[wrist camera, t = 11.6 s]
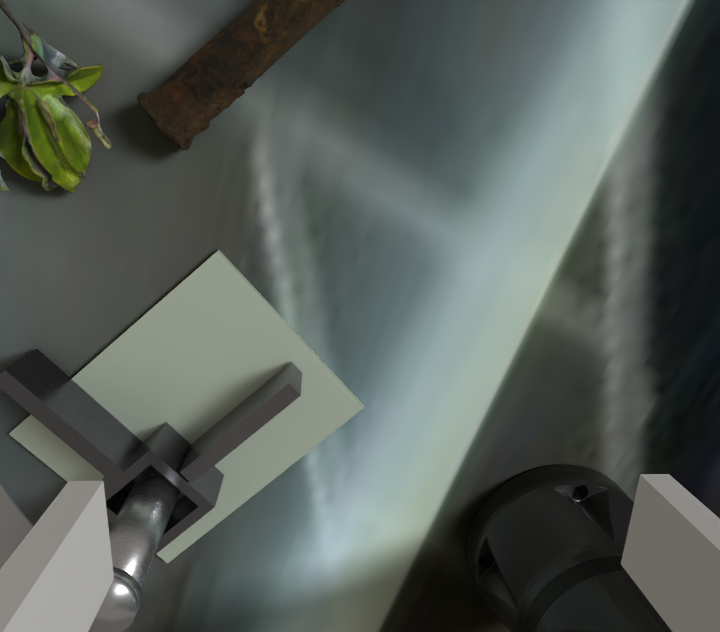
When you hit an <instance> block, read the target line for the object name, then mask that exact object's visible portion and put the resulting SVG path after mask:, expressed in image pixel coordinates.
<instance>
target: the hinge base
mask: <svg viewBox="0 0 720 632" xmlns="http://www.w3.org/2000/svg"><path fill="white" fill-rule="evenodd" d="M0 389H1V390H2V391H4V392H5V393H6V394H7V395H8V396H10V397H11V398H12V399H13V400H14V401H16V402H17V403H18V404H19V405H20V406H22V407H23V408H24V409H25V410H26V411H27V412H29V413H30V414H31V415H32V416H33V417H35V418H36V419H37V420H38V421H39V422H41V423H42V424H43V425H44V426H45V427H47V428H48V429H49V430H50V431H51V432H53V433H54V434H55V435H56V436H57V437H58V438H60V439H61V440H62V441H63V442H64V443H66V444H67V445H68V446H69V447H70V448H72V449H73V450H74V451H75V452H76V453H78V454H79V455H80V456H81V457H82V458H84V459H85V460H86V461H87V462H88V463H89V464H91V465H92V466H93V467H94V468H95V469H97V470H98V471H99V472H100V473H101V474H103V475H104V477H103V479H102V480H101V481H103V482H104V491H105V500H106V509H107V518H108V522H109V523H111V524H113V522H114V520H115V518H116V516H117V515H118V513H119V511H120V509H121V508H122V506H123V504H124V502H125V500H126V499H127V497H128V495H129V493H130V492H131V490H132V488H133V486H134V484H135V483H136V482H135V481H134V480H133V479H134V478H135V477H136V476H137V475H138V474H140V473H141V472H142V471H143V470H145V469H146V468H147V467H148V466H149V465H152V466H153V467H154V468H155V469H156V470H157V471H159V472H160V473H161V474H162V475H163V476H164V477H165V478H167V479H168V480H169V481H170V482H171V483H172V484H173V485H175V486H176V487H177V488H178V489H179V490H180V491H181V492H183V493H184V494H185V495H184V496H182V497H181V498H180V499H179V500H177V501H176V503H175V506H174V508H173V511H172V513H171V516H170V518H169V520H168V523H167V525H166V528H165V530H164V533H163V535H162V537H161V540H160V542H159V545H158V547H157V550H156V552H155V554H154V555H156V554H157V553H158V552H159V551H161V550H162V549H163V548H164V547H166V546H167V545H168V544H169V543H171V542H172V541H173V540H174V539H176V538H177V537H178V536H179V535H181V534H182V533H183V532H184V531H186V530H187V529H188V528H189V527H191V526H192V525H193V524H194V523H196V522H197V521H198V520H199V519H201V518H202V517H203V516H204V515H206V514H207V513H208V512H209V511H211V510H212V509H213V508H214V507H215V505H216V502H217V498H218V495H219V492H220V488H221V485H222V481H223V478H224V474H223V473H222V472H221V471H220V470H218V469H217V468H216V467H215V466H213V467H212V468H211V469H210V470H208V471H207V472H206V473H205V474H203V475H202V476H201V477H200V478H199V479H197V480H196V481H195V482H194V483H191V482H190V481H188V480H187V479H186V478H185V477H184V476H183V475H182V474H181V473H180V470H181V468H182V466H183V464H184V461H185V459H186V457H187V454H188V452H189V450H190V448H191V444H190V443H189V442H188V441H187V440H186V439H185V438H183V437H182V436H181V435H180V434H179V433H178V432H177V431H176V430H175V429H174V428H172V427H171V426H170V425H169V424H168V423H167V422H166V423H165V424H163V425H162V426H161V427H160V428H159V429H157V430H156V431H155V432H154V433H153V434H151V435H150V436H149V437H148V438H147V439H145V440H144V441H143V442H142V441H141V440H140V439H139V438H138V437H136V436H135V435H134V434H133V433H132V432H131V431H130V430H129V429H127V428H126V427H125V426H124V425H123V424H122V423H121V422H119V421H118V420H117V419H116V418H115V417H114V416H113V415H112V414H110V413H109V412H108V411H107V410H106V409H105V408H104V407H103V406H101V405H100V404H99V403H98V402H97V401H96V400H95V399H93V398H92V397H91V396H90V395H89V394H88V393H87V392H86V391H84V390H83V389H82V388H81V387H80V386H79V385H78V384H77V383H75V382H74V381H73V380H72V379H71V378H70V377H69V376H67V375H66V374H65V373H64V372H63V371H62V370H61V369H60V368H58V367H57V366H56V365H55V364H54V363H53V362H52V361H51V360H49V359H48V358H47V357H46V356H45V355H44V354H43V353H41V352H40V351H39V350H38V349H36V350H34V351H33V352H31V353H30V354H28V355H27V356H25V357H24V358H22V359H21V360H19V361H18V362H16V363H15V364H13V365H12V366H10V367H9V368H7V369H6V370H4V371H3V372H2V373H1V374H0Z"/></svg>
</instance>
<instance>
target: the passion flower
mask: <svg viewBox="0 0 720 632" xmlns="http://www.w3.org/2000/svg"><path fill="white" fill-rule="evenodd" d="M0 8H1V9H2V10H3V12H4V13H5V14H6V15H7V16H8V17H9V18H10V20H11V21H13V23H14V24H15V25H16V27H17V28H18V30H19V32H20V35H21V39H22V43H23V48H24V54H23V55H22V56H21V57H20V58H17V59H14V60H12V61H9V62H6V60H5V59H4V58H3V56H1V54H0V98H2V97H3V96H4V95H6V96H7V101H6V104H5V108H6V109H5V110H6V113H5V117H4V118H2V122H0V157H1V158H3V159H5V160H6V163H7V164H9V166H10V167H11V168H12V169H13V170H14V171H15V172H17V173H19V174H20V175H21V176H24V177H25V178H26V179H27V180H28V179H30V180H32V181H38V182H42V186H43V188H44V189H45V190H46V191H51V190H53V189H56V187H58V186H60V187H62V188H63V189H65V190H67V191H68V192H71V193H74V192H75V190H76V188H77V186H78V185H79V183H80V182H81V181H83V179H84V177H85V173H86V170H87V167H88V164H89V161H90V158H91V154H92V144H91V140H90V137H89V135H88V133H87V130H86V127H85V126H84V124H83V123H82V122H81V120H80V119H79V118H78V116H77V115H76V114H75V113H74V112H73V111H72V109H71V108H70V107H69V105H68V104H67V103H66V102H65V101H64V100H63V98H62V96H63V95H67V96H75V95H78V96H79V97H80V98H81V99H82V100H83V101H84V102H85V104H86V105H87V106H88V107H90V108H91V110H93V111H94V112H95V113H96V115H97V120H96V119H92V120H88V121H86V122H85V125H86V126H88V127H89V128H90V130H92V131H93V133H94V134H95V135H96V136H97V137H98V139H99V141H100V142H102V143H103V145H104V146H105V147H106V148H107V149H110V148H111V146H112V143H111V141H110V139H109V138H107V137H106V135H105V134H104V133H103V131H102V129H101V128H100V124H99V114H98V110H97V108H95V107H94V106H93V105H92V104H91V102H90V101H89V100H88V99H87V98H86V97H85V96H84V95H83V94H82V92H85V91H86V90H88V89H89V88H90V87H92V86H93V85H94V84H95V83H96V82H97V81H98V79H99V78H100V76H101V74H102V72H103V69H104V66H103V65H101V64H98V65H96V66H90V67H84V68H81V67H79V66H77V65H76V63H74V62H73V61H72V60H70V59H69V58H68V57H66V56H65V55H63V54H62V53H60V52H59V51H57V50H56V49H54V48H53V47H51V46H50V45H48V44H47V43H46V42H45V41H44V40H43V39H42V38H41V37H40V36H39V35H38V34H37V33H36V32H35V31H33V30H31V29H29V28H28V27H27V26H25V25H24V24H23V23H22V22H21V21H20V19H19V18H18V17H17V16H16V15H15V14H14V12H13V11H12V10H11V9H10V8H9V6H8V5H7V4H5V3H4V2H3V0H0ZM37 57H38V58H39V60H40V61H41V62H42V63H43V64H44V65H45V66H46V68H47V69H48V73H47V74H46V75H45V76H44V77H42V78H41V77H37V76H34V75H33V74H32V72H31V64H32V62H33V60H36V59H37ZM16 64H22V65H23V70H22V71H20V72H19V73H18V72H14V71H13V70H11V69H10V67H9V66H11V65H16ZM62 64H66V65H68V66H70V67H72V68H75V69H73V70H62V69H59V68H60V67H61V65H62ZM31 147H32V148H31ZM49 173H50V174H51V175H52V178H51V176H50V174H49ZM0 190H2V191H9V188H8V187H7V186H6V184H5V182H4V181H3V179H2V177H1V170H0Z"/></svg>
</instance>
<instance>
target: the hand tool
mask: <svg viewBox="0 0 720 632" xmlns="http://www.w3.org/2000/svg"><path fill="white" fill-rule="evenodd" d="M344 1H345V0H257V1H256V2H255V3H253V4H252V5H250V6H249V7H248V8H247V9H246V10H244V11H243V12H242V13H241V14H240V15H239V16H238V17H237V18H236V19H234V20H233V21H232V22H231V23H230V24H229V25H228V26H227V27H225V28H224V29H223V30H222V31H221V32H220V33H218V34H217V35H216V36H215V37H214V38H213V39H212V40H211V41H209V42H208V43H207V44H206V45H205V46H204V47H203V48H202V49H201V50H199V51H198V52H197V53H196V54H195V55H194V56H192V57H191V58H190V59H189V60H188V61H187V62H186V63H185V64H184V65H183V66H182V67H181V68H180V69H179V70H178V71H177V72H176V73H175V74H174V75H172V76H171V77H170V78H169V79H168V80H167V81H165V82H164V83H163V84H162V85H161V86H160V87H159V88H157V89H156V90H155V91H154V92H152V93H150V94H148V93H141V94H139V95H138V101H139V104H140V106H141V107H142V108H143V109H144V111H145V112H146V113H147V115H148V116H149V117H150V119H151V120H152V121H153V123H154V124H155V126H156V127H157V129H158V130H159V132H161V133H162V134H164V135H165V136H166V137H167V138H168V139H169V140H171V142H173V143H175V144H176V145H178V146H179V147H180V148H182V149H183V150H187V149H189V148H190V146H191V143H192V139H193V136H194V135H195V134H197V133H199V132H202V131H204V130H206V129H207V128H208V127H209V122H210V120H211V119H212V118H214V117H216V116H217V115H218V114H220V113H221V112H222V111H223V110H224V109H226V108H228V107H229V106H230V105H231V104H232V103H233V102H234V101H235V99H236V98H238V97H240V96H242V95H243V94H244V93H245V91H244V90H245V89H246V88H248V87H251V86H252V84H253V83H254V82H255V81H256V79H258V78H259V77H260V76H261V75H263V74H264V72H265V71H266V70H267V69H268V68H269V67H270V66H272V65H273V64H274V63H275V62H276V61H277V60H278V59H279V58H280V57H281V56H283V55H284V54H285V53H286V52H287V51H288V50H289V49H290V48H291V47H292V46H293V45H294V44H295V43H296V42H297V41H299V40H300V39H301V38H302V37H304V36H305V35H306V34H307V33H308V32H309V31H310V30H311V29H312V28H313V27H314V26H315V25H316V24H318V23H319V22H320V21H321V20H322V19H323V18H324V17H325V16H326V15H327V14H328V13H330V12H331V11H332V10H333V9H334V8H336V7H337V6H339V5H341V4H342V3H343V2H344Z"/></svg>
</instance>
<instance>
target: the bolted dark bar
mask: <svg viewBox="0 0 720 632" xmlns="http://www.w3.org/2000/svg"><path fill="white" fill-rule="evenodd" d="M301 383H302V372H301V371H300V370H299V369H298V368H297V367H296V366H295V365H294V364H293V363H292V362H290V363H289V364H288V365H287V366H285V367H284V368H283V369H282V370H280V371H279V372H278V373H277V374H276V375H274V376H273V377H272V378H271V379H270V380H268V381H267V382H266V383H265V384H263V385H262V386H261V387H260V388H259V389H257V390H256V391H255V392H254V393H253V394H251V395H250V396H249V397H248V398H246V399H245V400H244V401H243V402H242V403H240V404H239V405H238V406H237V407H236V408H234V409H233V410H232V411H231V412H229V413H228V414H227V415H226V416H225V417H223V418H222V419H221V420H220V421H219V422H217V423H216V424H215V425H214V426H212V427H211V428H210V429H209V430H208V431H206V432H205V433H204V434H203V435H202V436H200V437H199V438H198V439H197V440H195V441H194V442H193V443H192V445H191V448H190V450H189V452H188V454H187V457H186V459H185V461H184V464H183V466H182V468H181V470H180V473H181V474H182V475H183V476H184V477H185V478H186V479H187V480H188V481H190V482H191V483H194V482H195V481H196V480H197V479H199V478H200V477H201V476H202V475H203V474H205V473H206V472H207V471H208V470H210V469H211V468H212V467H213V466H215V465H216V464H217V463H218V462H220V461H221V460H222V459H223V458H224V457H226V456H227V455H228V454H229V453H231V452H232V451H233V450H234V449H236V448H237V447H238V446H239V445H240V444H242V443H243V442H244V441H245V440H247V439H248V438H249V437H250V436H252V435H253V434H254V433H255V432H257V431H258V430H259V429H260V428H261V427H263V426H264V425H265V424H266V423H268V422H269V421H270V420H271V419H273V418H274V417H275V416H276V415H277V414H279V413H280V412H281V411H282V410H284V409H285V408H286V407H287V406H289V405H290V404H291V403H292V402H294V401H295V400H296V399H297V398H298V397H300V396H301Z"/></svg>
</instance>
